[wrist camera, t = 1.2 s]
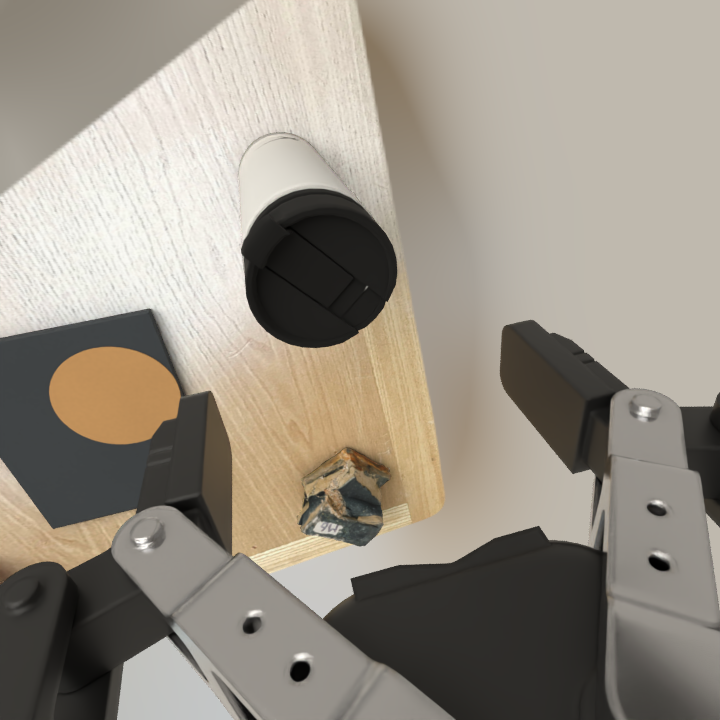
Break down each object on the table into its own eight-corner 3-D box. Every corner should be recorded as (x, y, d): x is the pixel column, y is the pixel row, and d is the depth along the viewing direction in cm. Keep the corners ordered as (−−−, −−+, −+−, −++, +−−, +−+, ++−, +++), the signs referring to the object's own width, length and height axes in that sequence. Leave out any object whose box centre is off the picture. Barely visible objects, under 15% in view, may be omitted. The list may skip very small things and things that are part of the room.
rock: (391, 460, 53) (407, 499, 48) (347, 516, 56) (358, 559, 51) (324, 437, 49) (334, 478, 44) (281, 499, 52) (285, 543, 48)
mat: (-69, 351, 36) (-76, 357, 35) (150, 308, 38) (148, 313, 37) (55, 522, 47) (52, 530, 46) (220, 482, 49) (219, 488, 48)
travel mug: (269, 107, 33) (308, 162, 16) (342, 173, 36) (436, 275, 19) (216, 181, 34) (201, 300, 18) (289, 238, 38) (335, 383, 21)
